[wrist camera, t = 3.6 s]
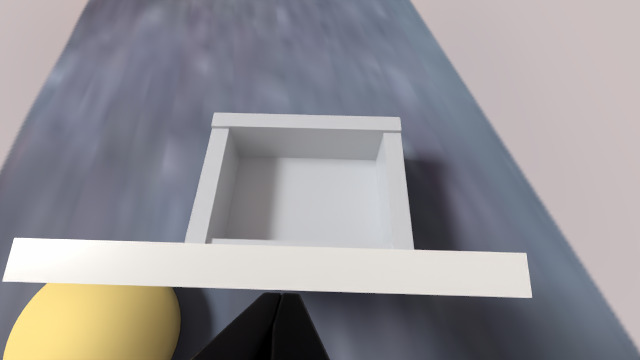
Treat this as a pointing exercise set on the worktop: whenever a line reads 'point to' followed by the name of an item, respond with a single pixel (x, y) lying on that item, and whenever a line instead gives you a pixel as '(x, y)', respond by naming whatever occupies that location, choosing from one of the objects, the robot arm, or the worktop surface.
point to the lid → (269, 267)
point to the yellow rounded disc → (97, 323)
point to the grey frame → (303, 183)
